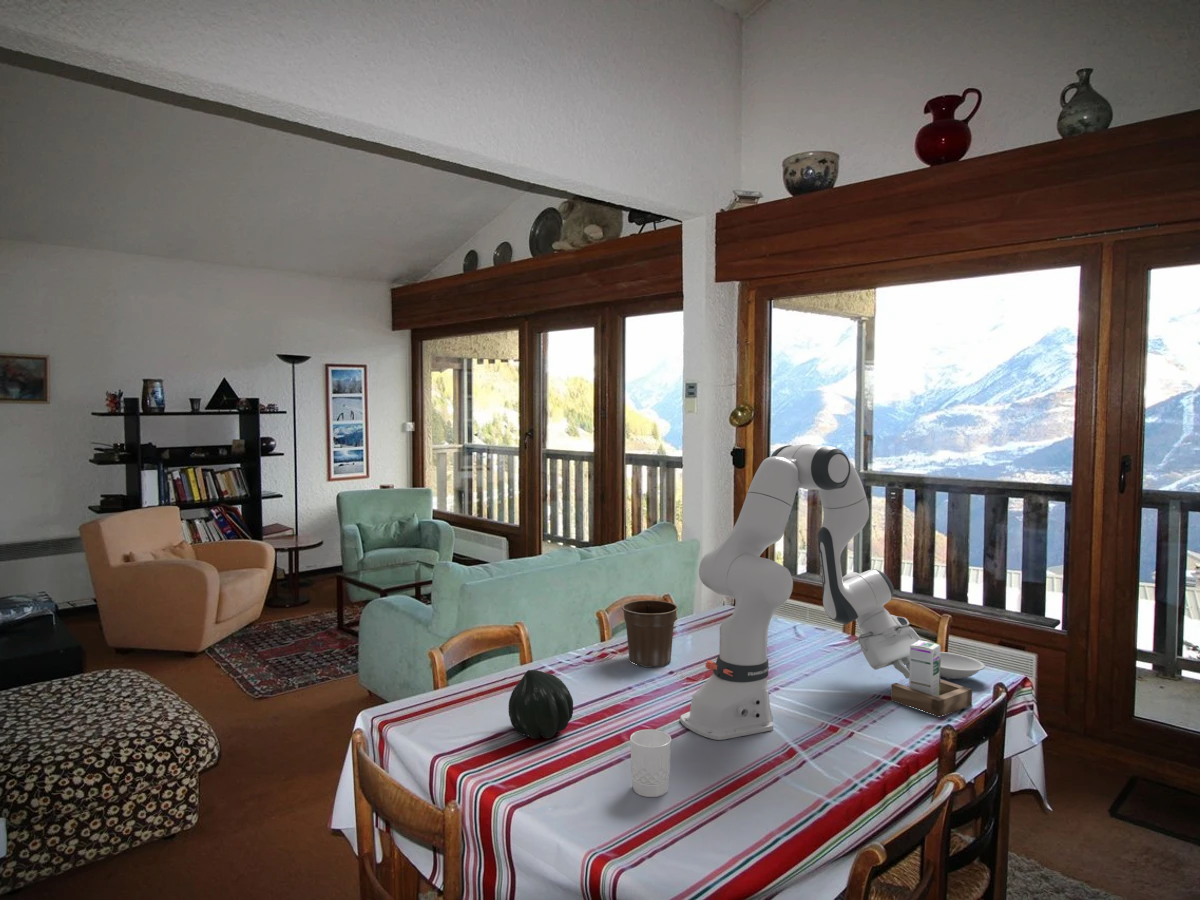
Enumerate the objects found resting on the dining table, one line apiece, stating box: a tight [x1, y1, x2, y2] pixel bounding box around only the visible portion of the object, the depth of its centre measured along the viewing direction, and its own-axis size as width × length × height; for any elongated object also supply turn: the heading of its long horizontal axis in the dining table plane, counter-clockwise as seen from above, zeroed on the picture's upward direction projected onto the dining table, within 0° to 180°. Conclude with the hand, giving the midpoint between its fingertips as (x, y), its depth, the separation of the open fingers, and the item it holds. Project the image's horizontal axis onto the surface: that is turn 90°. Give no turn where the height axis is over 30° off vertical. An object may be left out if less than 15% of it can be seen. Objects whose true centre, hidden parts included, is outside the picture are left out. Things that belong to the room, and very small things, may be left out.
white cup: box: [629, 728, 672, 798], centre depth 143 cm, size 8×8×10 cm
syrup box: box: [908, 640, 942, 697], centre depth 187 cm, size 6×6×14 cm
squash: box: [508, 669, 574, 740], centre depth 169 cm, size 14×15×15 cm
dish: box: [940, 651, 986, 680], centre depth 204 cm, size 18×14×5 cm
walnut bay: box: [890, 678, 973, 717], centre depth 187 cm, size 14×13×4 cm
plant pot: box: [621, 599, 679, 668], centre depth 217 cm, size 16×16×16 cm
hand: (912, 676), depth 191 cm, fingers closed
